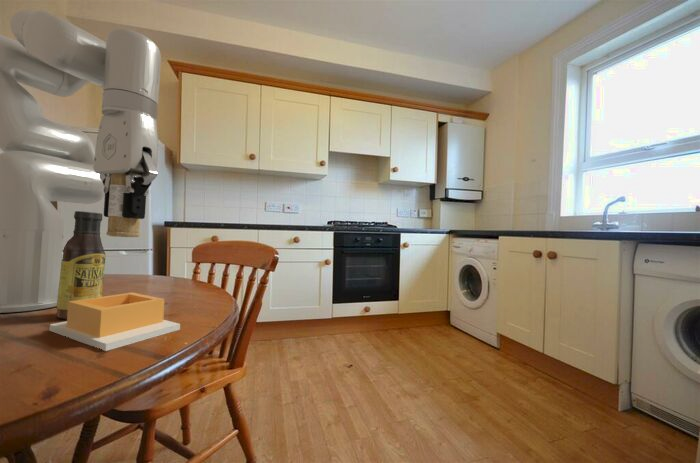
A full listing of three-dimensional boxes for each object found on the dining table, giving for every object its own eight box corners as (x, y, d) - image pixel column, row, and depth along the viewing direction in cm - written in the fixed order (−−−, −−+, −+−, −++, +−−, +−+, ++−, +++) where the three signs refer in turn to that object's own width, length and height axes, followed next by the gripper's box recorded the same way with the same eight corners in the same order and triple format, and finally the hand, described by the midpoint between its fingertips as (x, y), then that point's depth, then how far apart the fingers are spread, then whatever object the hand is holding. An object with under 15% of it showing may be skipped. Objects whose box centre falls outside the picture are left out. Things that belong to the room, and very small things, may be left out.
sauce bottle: (73, 322, 52) (80, 210, 52) (46, 318, 53) (53, 209, 53) (110, 313, 58) (116, 213, 58) (85, 309, 59) (91, 212, 60)
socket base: (49, 330, 47) (51, 299, 47) (124, 315, 57) (126, 289, 57) (105, 351, 41) (107, 315, 41) (179, 329, 51) (181, 300, 51)
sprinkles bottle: (140, 236, 53) (145, 162, 53) (138, 237, 49) (143, 157, 49) (107, 235, 50) (113, 157, 50) (103, 236, 46) (108, 152, 46)
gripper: (76, 107, 50) (69, 215, 49) (138, 93, 43) (130, 217, 43) (125, 124, 57) (119, 218, 56) (185, 113, 50) (178, 220, 49)
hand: (124, 216), depth 49 cm, fingers closed on sprinkles bottle, 4 cm apart
